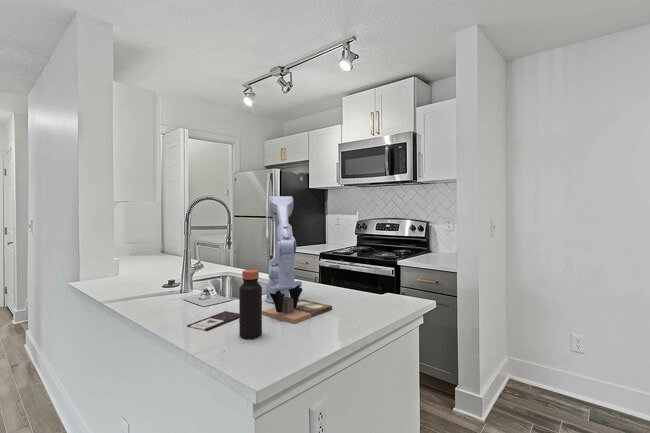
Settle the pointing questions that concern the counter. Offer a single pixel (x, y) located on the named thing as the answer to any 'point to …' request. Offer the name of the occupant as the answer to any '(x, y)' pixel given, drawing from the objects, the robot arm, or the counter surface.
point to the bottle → (250, 305)
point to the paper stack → (205, 302)
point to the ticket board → (312, 307)
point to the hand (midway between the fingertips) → (286, 309)
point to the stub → (287, 312)
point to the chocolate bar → (214, 321)
